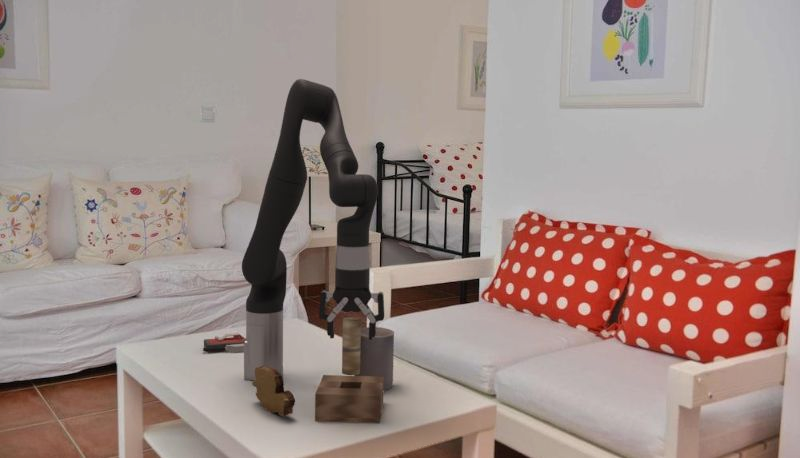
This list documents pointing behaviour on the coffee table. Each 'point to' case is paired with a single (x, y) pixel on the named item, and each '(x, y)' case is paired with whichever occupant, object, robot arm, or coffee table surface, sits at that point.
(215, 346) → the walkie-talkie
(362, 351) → the pillar candle
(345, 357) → the peg
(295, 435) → the coffee table surface
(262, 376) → the wooden carving
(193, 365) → the coffee table surface
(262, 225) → the robot arm
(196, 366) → the coffee table surface
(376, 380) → the socket block
